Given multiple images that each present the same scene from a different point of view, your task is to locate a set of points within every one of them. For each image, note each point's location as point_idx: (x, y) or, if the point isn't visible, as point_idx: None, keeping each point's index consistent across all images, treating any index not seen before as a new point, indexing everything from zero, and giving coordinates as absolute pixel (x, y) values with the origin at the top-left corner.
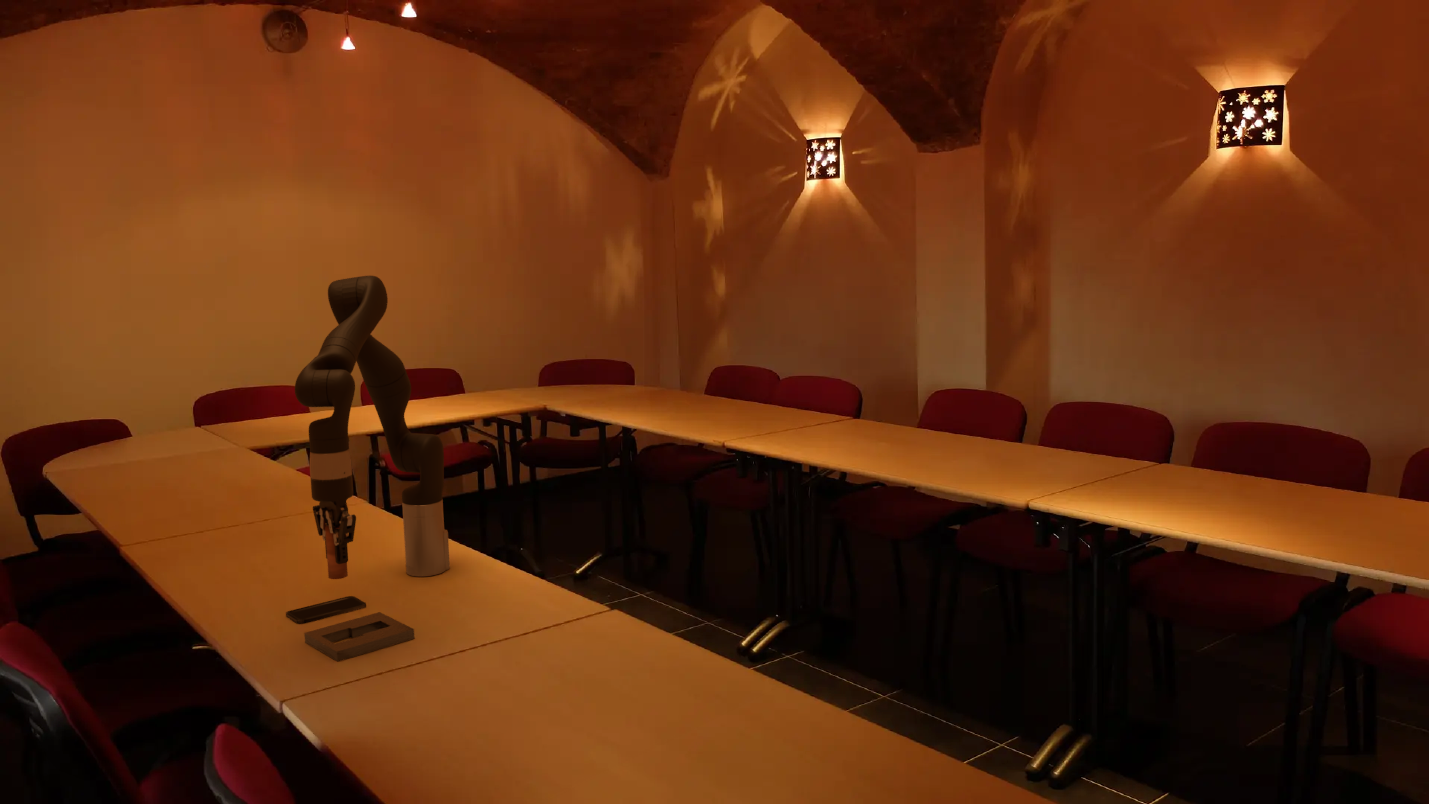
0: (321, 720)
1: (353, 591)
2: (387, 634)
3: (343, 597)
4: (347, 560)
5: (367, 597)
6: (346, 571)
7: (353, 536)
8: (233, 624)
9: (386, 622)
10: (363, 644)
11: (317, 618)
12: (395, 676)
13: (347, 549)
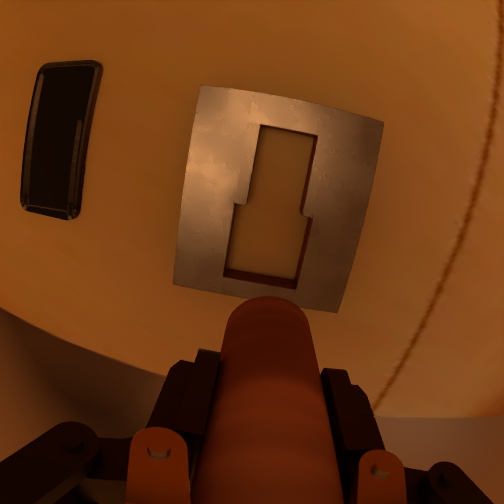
0: (448, 406)
1: (22, 49)
2: (358, 181)
3: (35, 82)
4: (344, 373)
5: (62, 39)
6: (307, 328)
7: (477, 488)
8: (15, 285)
9: (285, 123)
10: (354, 253)
11: (81, 179)
12: (466, 281)
13: (360, 416)
